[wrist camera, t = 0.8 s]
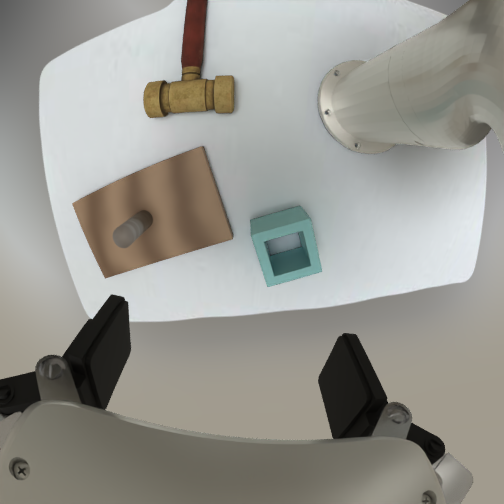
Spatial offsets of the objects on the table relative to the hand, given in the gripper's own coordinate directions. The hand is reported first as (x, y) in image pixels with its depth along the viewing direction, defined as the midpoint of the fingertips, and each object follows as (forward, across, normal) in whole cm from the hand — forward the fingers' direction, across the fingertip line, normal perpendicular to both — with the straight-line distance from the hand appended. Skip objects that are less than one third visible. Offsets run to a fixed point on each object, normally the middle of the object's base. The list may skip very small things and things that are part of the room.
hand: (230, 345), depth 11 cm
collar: (+25, -6, +3) cm, 26 cm away
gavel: (+26, +10, -21) cm, 35 cm away
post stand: (+25, +12, +3) cm, 28 cm away
